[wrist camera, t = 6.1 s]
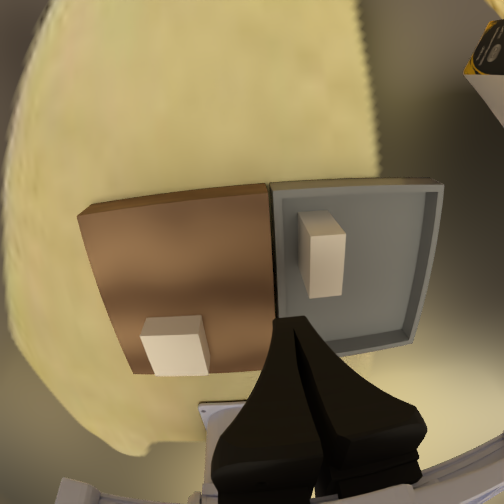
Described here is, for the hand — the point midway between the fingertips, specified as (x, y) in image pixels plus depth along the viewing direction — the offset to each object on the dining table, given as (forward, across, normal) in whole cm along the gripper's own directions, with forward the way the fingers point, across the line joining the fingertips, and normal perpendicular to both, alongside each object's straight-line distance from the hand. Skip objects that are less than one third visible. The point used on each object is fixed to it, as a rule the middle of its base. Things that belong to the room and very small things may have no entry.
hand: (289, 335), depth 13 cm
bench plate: (+10, +6, +3) cm, 12 cm away
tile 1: (+7, -2, 0) cm, 7 cm away
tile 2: (+7, +7, +6) cm, 12 cm away
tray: (+10, -6, +3) cm, 12 cm away
